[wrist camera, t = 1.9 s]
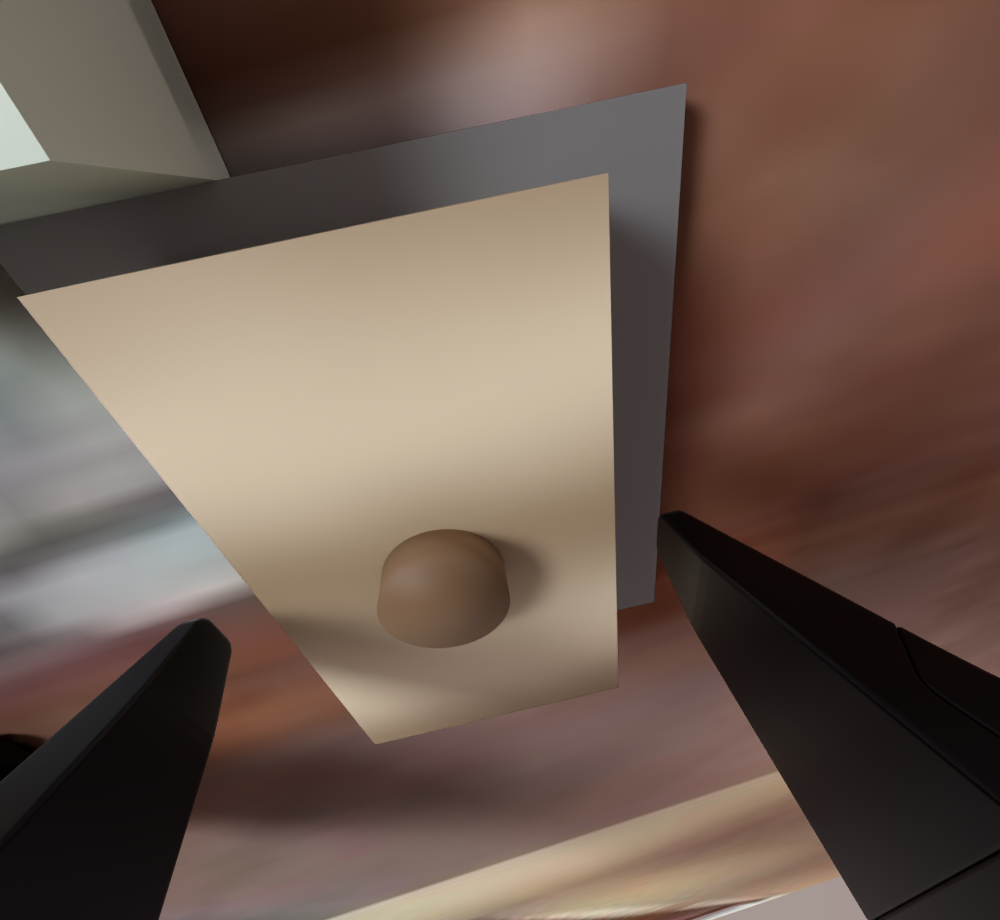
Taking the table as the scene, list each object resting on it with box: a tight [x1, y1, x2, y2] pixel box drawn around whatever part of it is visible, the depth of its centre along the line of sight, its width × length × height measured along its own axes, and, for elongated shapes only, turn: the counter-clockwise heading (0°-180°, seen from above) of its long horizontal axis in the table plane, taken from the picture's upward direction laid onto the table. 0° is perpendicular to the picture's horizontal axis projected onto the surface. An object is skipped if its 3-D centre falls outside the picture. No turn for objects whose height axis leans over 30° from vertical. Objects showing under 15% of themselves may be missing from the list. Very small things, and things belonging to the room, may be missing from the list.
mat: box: [0, 83, 687, 610], centre depth 11 cm, size 14×12×1 cm
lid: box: [17, 173, 618, 744], centre depth 9 cm, size 12×7×4 cm, turn 10°
